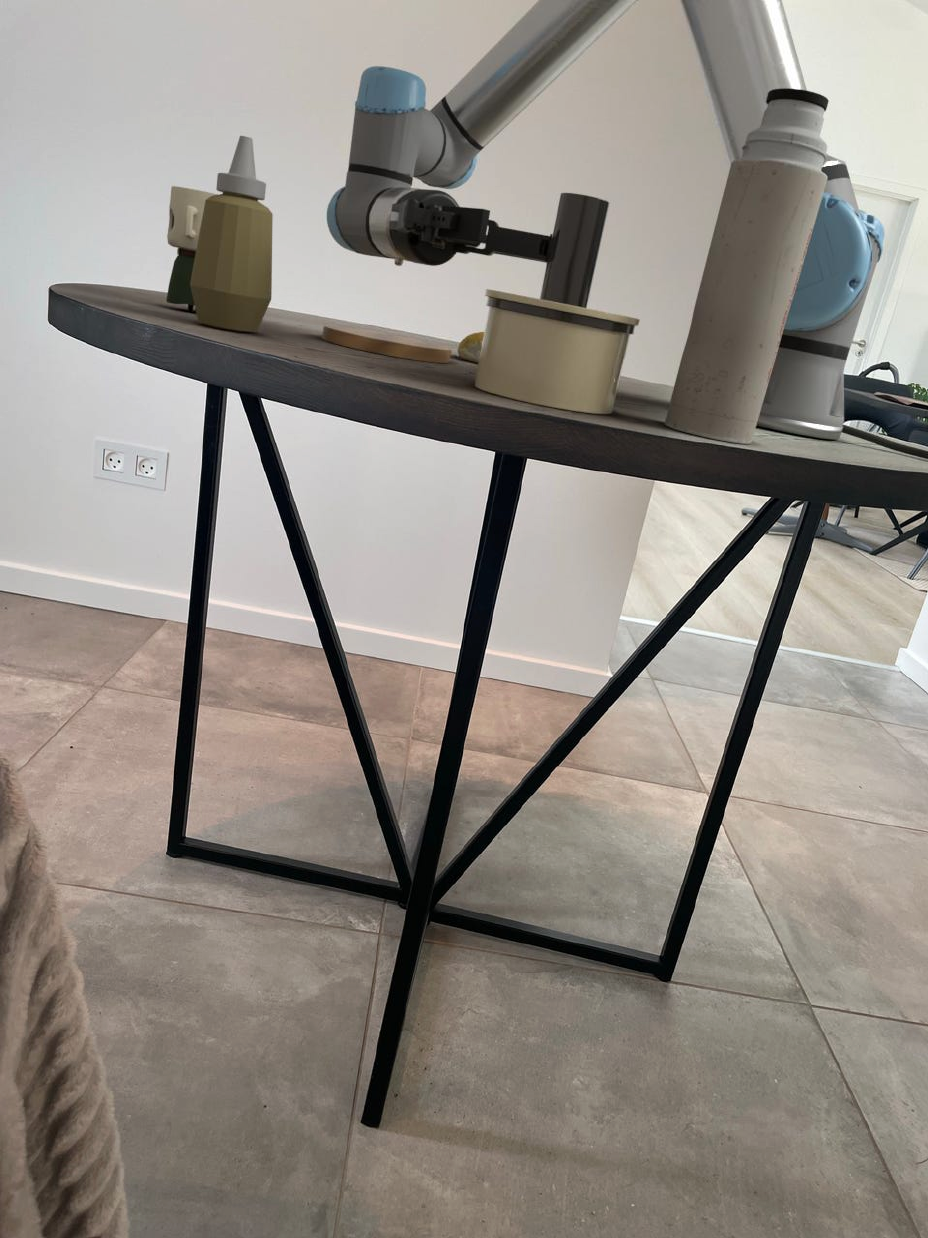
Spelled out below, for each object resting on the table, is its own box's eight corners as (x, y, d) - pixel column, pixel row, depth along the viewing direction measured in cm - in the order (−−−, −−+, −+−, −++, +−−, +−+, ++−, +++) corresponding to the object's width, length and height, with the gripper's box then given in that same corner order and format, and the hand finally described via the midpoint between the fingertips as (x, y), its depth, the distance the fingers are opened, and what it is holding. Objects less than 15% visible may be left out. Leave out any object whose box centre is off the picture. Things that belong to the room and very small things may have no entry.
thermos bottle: (746, 438, 88) (840, 113, 79) (755, 448, 81) (859, 90, 72) (663, 420, 89) (746, 97, 80) (664, 428, 82) (756, 73, 73)
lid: (622, 322, 92) (646, 219, 89) (655, 329, 79) (684, 208, 76) (480, 294, 91) (499, 189, 88) (489, 296, 77) (512, 171, 74)
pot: (601, 403, 95) (619, 322, 92) (628, 422, 82) (651, 328, 79) (468, 378, 93) (483, 295, 91) (474, 393, 80) (492, 297, 78)
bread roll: (528, 369, 122) (534, 338, 121) (509, 370, 114) (516, 337, 113) (470, 356, 124) (475, 326, 123) (447, 356, 116) (453, 324, 115)
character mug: (178, 305, 114) (187, 191, 110) (235, 316, 114) (246, 203, 110) (147, 306, 104) (156, 180, 100) (210, 318, 104) (222, 193, 100)
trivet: (448, 357, 116) (450, 345, 116) (450, 367, 102) (453, 353, 102) (328, 334, 115) (330, 322, 114) (314, 341, 101) (316, 327, 100)
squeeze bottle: (279, 339, 95) (302, 147, 89) (203, 328, 90) (221, 124, 84) (249, 328, 101) (268, 147, 95) (175, 317, 96) (191, 126, 90)
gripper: (499, 280, 110) (624, 302, 95) (312, 241, 95) (424, 259, 80) (511, 213, 108) (642, 224, 93) (321, 161, 93) (439, 164, 78)
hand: (541, 240), depth 86 cm, fingers open, 13 cm apart
